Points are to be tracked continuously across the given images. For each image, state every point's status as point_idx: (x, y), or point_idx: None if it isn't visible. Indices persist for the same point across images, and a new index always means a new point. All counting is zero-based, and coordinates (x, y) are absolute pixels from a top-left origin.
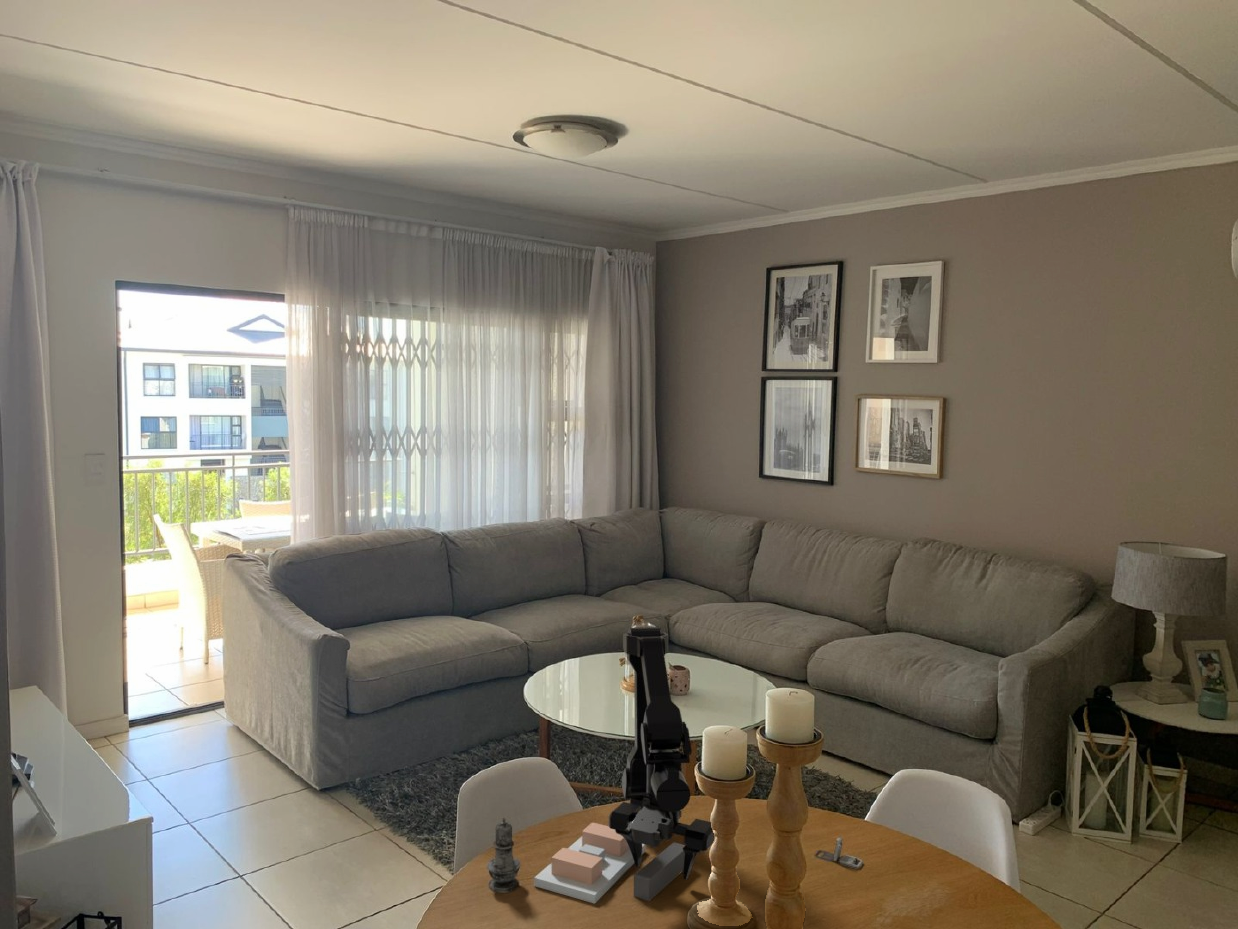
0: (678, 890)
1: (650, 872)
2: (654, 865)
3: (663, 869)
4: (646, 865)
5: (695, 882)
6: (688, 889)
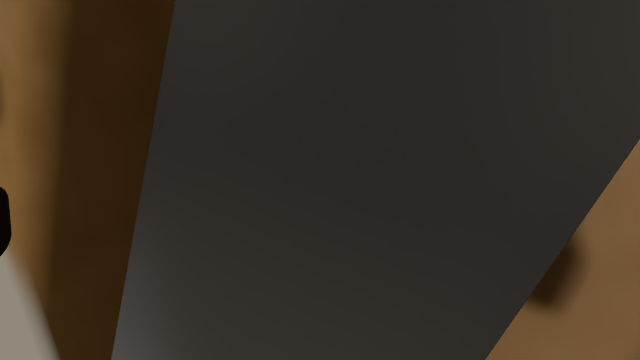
0: (110, 93)
1: (337, 22)
2: (313, 321)
3: (144, 236)
4: (490, 318)
5: (29, 251)
6: (32, 129)
